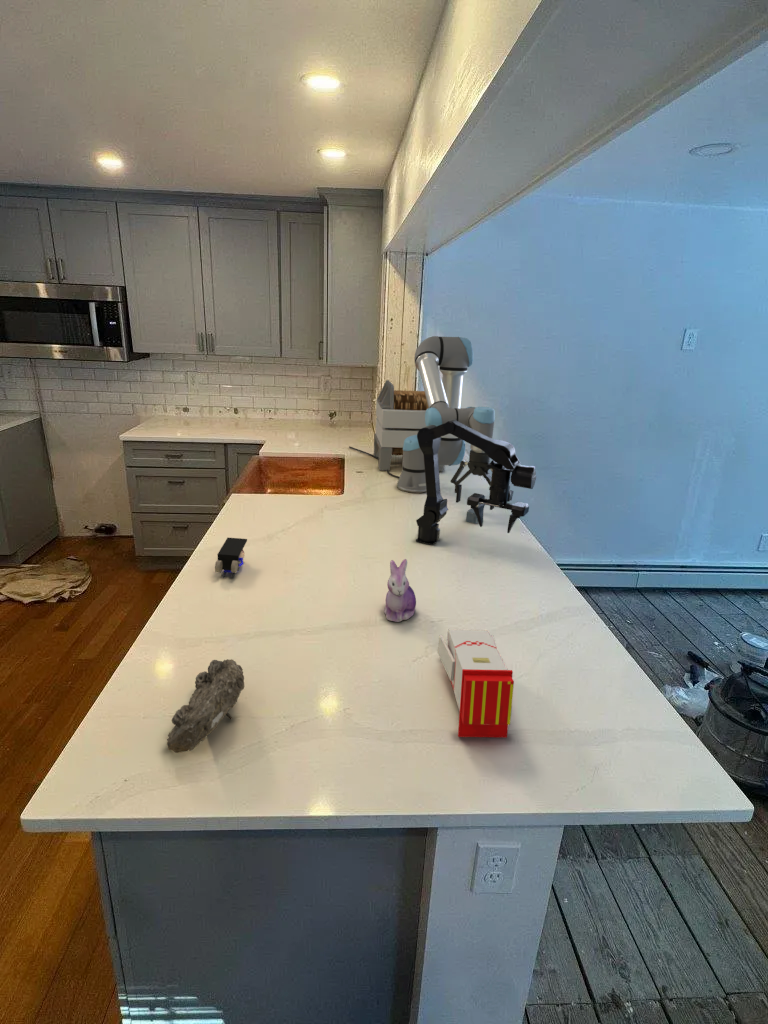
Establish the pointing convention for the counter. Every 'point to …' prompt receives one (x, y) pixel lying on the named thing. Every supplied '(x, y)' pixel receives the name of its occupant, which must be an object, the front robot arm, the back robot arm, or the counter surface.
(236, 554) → the figurine character
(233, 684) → the fossil
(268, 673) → the counter surface
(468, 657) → the toy
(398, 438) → the transformer
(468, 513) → the block
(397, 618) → the figurine
